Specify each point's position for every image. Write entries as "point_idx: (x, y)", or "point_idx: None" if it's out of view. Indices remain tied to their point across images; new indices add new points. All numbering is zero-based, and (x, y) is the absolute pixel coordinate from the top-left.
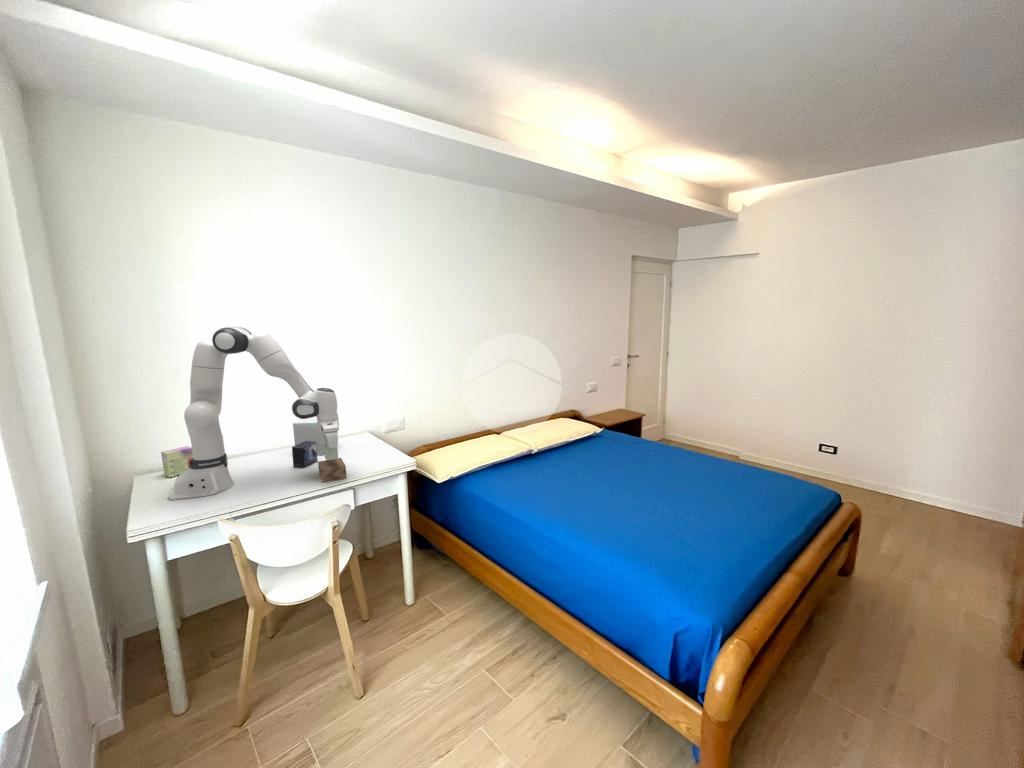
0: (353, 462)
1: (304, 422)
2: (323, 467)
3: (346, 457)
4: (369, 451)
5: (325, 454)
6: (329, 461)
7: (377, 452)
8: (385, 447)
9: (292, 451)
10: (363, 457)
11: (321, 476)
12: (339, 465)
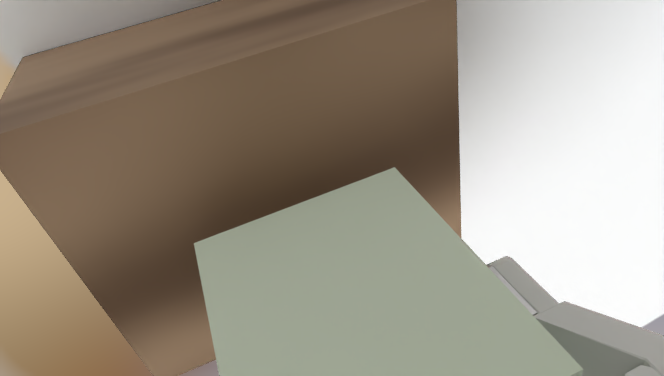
0: (515, 222)
1: None
2: (118, 145)
3: (650, 146)
4: (650, 262)
5: (293, 284)
6: (385, 164)
7: (601, 308)
8: (647, 322)
9: None
10: (571, 258)
11: (97, 54)
12: (172, 327)
